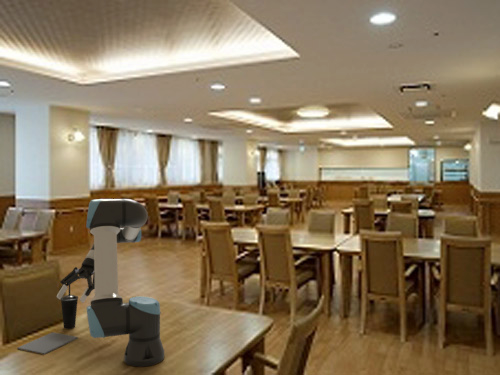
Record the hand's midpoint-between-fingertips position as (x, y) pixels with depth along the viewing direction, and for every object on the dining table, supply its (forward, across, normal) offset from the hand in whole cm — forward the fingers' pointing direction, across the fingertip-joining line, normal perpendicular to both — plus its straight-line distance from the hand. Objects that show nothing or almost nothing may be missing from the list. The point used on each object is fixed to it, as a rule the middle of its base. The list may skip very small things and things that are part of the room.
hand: (69, 299), depth 199 cm
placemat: (+22, -7, +4) cm, 23 cm away
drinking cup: (+10, 0, -8) cm, 13 cm away
